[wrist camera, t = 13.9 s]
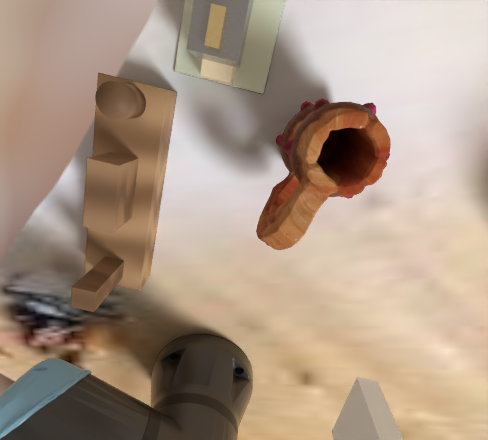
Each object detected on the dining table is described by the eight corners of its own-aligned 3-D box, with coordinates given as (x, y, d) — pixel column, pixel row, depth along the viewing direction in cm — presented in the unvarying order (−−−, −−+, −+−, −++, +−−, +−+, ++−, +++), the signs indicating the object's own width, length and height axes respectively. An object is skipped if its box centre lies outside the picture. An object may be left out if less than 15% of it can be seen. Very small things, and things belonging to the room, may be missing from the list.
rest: (263, 93, 35) (263, 91, 31) (175, 71, 34) (165, 66, 30) (287, -11, 31) (291, -28, 27) (190, -36, 31) (181, -57, 27)
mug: (314, 82, 34) (353, 61, 20) (369, 128, 35) (443, 139, 21) (236, 187, 38) (222, 231, 24) (287, 225, 39) (303, 288, 25)
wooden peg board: (149, 275, 43) (114, 327, 32) (99, 263, 43) (48, 312, 32) (177, 92, 35) (142, 83, 24) (115, 76, 35) (54, 61, 24)
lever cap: (239, 68, 30) (236, 60, 26) (195, 57, 30) (184, 47, 25) (257, -16, 28) (256, -41, 23) (209, -29, 28) (199, -56, 23)
